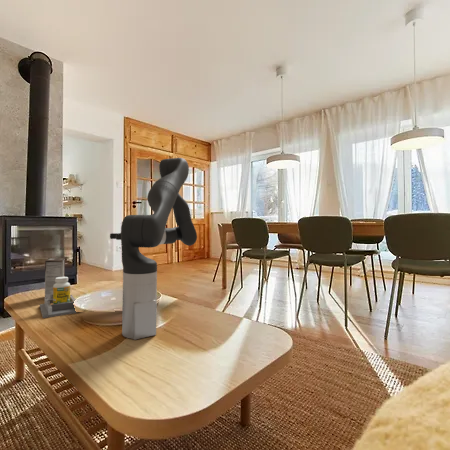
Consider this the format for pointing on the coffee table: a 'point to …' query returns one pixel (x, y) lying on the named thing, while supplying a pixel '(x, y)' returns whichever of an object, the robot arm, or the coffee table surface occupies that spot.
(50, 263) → the coffee box
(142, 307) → the robot arm
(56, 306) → the rail mount
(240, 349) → the coffee table surface
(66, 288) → the supplement bottle
